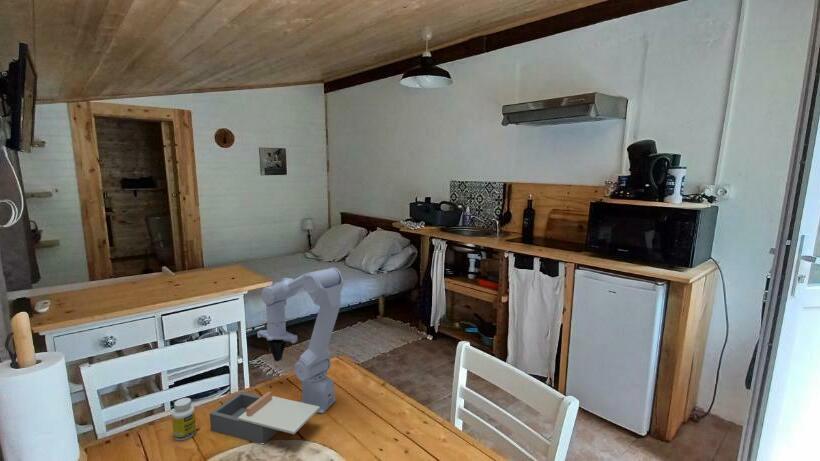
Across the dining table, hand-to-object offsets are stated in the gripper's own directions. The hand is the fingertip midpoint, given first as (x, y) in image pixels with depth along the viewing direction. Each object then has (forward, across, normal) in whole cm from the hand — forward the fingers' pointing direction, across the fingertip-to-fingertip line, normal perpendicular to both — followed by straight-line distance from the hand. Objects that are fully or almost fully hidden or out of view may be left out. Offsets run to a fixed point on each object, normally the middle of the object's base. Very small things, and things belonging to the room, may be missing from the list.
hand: (278, 359), depth 135 cm
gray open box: (+9, +6, -20) cm, 23 cm away
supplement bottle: (+10, -8, -30) cm, 32 cm away
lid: (+4, +16, -20) cm, 26 cm away
